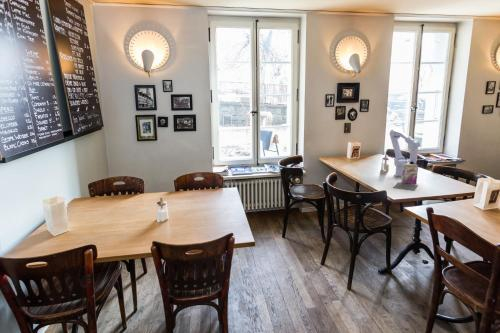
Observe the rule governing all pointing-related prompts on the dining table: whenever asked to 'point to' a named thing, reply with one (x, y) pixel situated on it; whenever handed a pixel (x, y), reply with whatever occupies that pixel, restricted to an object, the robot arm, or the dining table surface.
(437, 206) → the dining table surface
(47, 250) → the dining table surface
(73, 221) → the dining table surface
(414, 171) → the candy bar box
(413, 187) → the mat
